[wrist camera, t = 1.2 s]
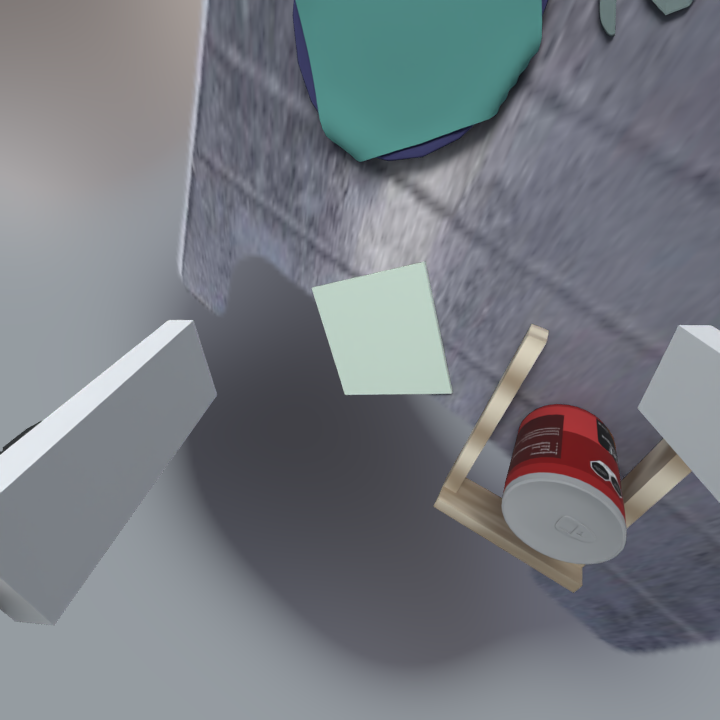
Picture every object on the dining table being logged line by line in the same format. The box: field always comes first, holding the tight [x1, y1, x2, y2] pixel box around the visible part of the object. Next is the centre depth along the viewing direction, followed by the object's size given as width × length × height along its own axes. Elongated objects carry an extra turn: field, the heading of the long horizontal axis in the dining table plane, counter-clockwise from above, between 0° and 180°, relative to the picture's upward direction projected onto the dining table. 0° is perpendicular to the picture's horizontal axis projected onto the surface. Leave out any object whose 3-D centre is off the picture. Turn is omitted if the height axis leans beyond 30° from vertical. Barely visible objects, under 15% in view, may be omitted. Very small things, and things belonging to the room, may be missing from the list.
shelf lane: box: [434, 324, 692, 593], centre depth 33 cm, size 22×15×5 cm
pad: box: [312, 262, 453, 395], centre depth 40 cm, size 14×14×1 cm
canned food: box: [501, 404, 627, 564], centre depth 30 cm, size 8×8×11 cm
